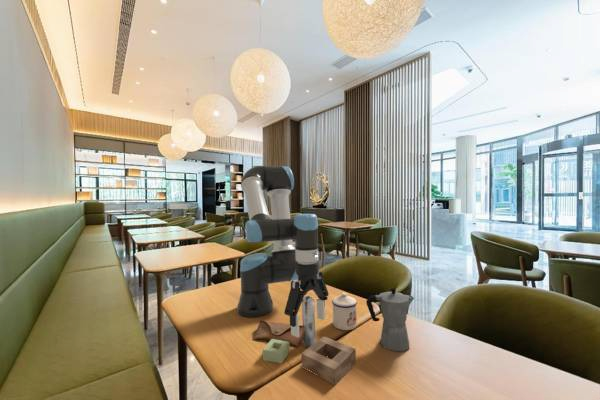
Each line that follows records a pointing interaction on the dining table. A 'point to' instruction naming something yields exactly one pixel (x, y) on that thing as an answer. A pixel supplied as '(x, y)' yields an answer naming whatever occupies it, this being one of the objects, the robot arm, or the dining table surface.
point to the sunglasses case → (277, 333)
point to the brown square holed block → (326, 367)
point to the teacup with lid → (344, 312)
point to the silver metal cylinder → (308, 321)
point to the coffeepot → (392, 318)
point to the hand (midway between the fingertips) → (309, 326)
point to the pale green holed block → (276, 351)
